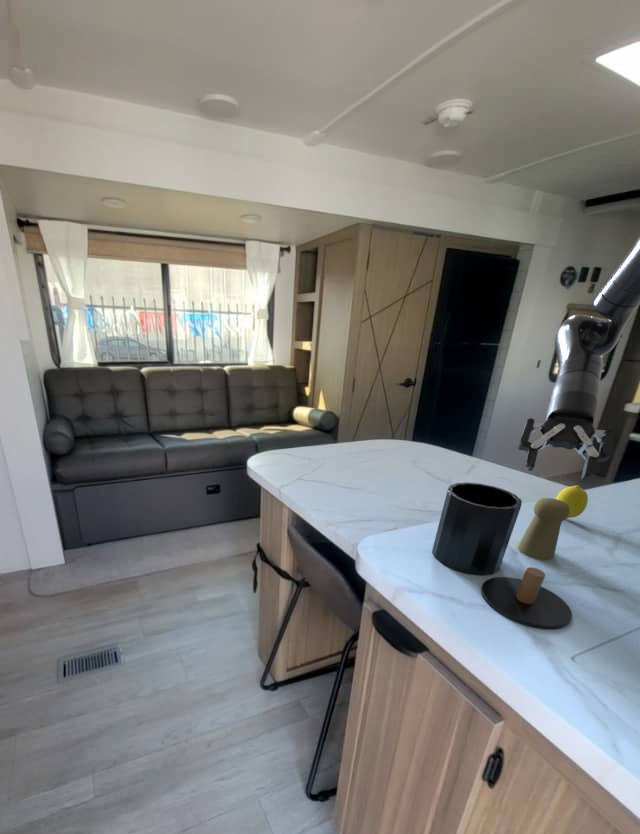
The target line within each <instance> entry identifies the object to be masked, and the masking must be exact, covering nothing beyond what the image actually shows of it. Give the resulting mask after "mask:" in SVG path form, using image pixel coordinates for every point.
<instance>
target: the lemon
mask: <svg viewBox="0 0 640 834" xmlns="http://www.w3.org/2000/svg"><path fill="white" fill-rule="evenodd" d="M555 499H557V500H560V501H563V502H565V503H566V504H567V505H568V506H569V508H570V511H569V515H568V517H567V518H566V519H565V520H568V519H571V518H577V517H578V516H580V515H582V514H583V512H584V511H585V510H586V508H587V506H588V502H589V497H588V494H587V492H586V490H585V489H583V488H582V487H581V486H580V485H577V484H576V485H572V486H571V485H570V486H567V487H564V488H563V489H562V490H561V491H560V492H558V494H557V496H556V498H555Z"/></svg>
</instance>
